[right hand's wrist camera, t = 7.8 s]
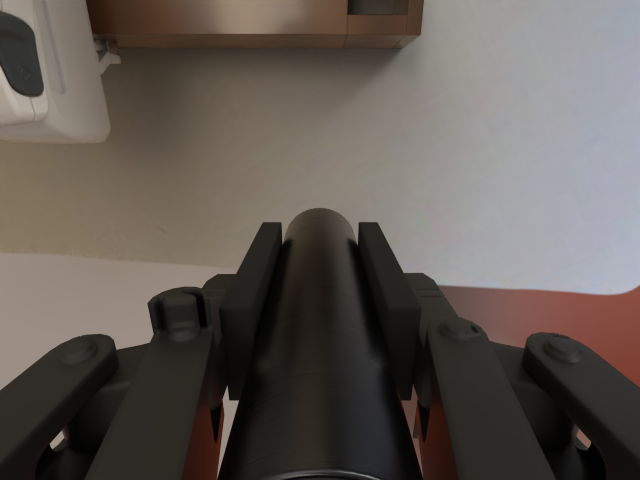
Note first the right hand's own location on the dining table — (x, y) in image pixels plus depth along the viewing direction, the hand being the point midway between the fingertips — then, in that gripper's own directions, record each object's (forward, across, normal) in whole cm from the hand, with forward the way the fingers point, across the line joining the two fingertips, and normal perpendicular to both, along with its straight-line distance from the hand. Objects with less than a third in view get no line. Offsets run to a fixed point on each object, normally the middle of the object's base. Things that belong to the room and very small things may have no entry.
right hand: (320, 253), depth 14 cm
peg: (+2, 0, 0) cm, 2 cm away
